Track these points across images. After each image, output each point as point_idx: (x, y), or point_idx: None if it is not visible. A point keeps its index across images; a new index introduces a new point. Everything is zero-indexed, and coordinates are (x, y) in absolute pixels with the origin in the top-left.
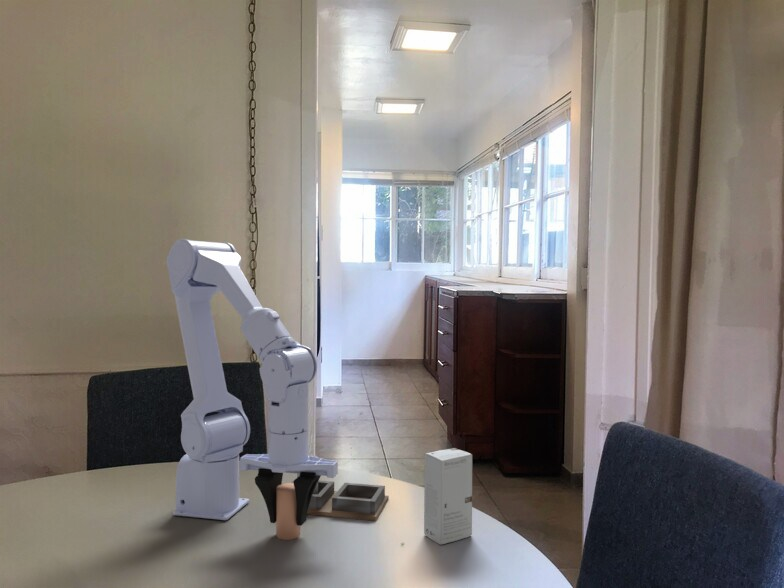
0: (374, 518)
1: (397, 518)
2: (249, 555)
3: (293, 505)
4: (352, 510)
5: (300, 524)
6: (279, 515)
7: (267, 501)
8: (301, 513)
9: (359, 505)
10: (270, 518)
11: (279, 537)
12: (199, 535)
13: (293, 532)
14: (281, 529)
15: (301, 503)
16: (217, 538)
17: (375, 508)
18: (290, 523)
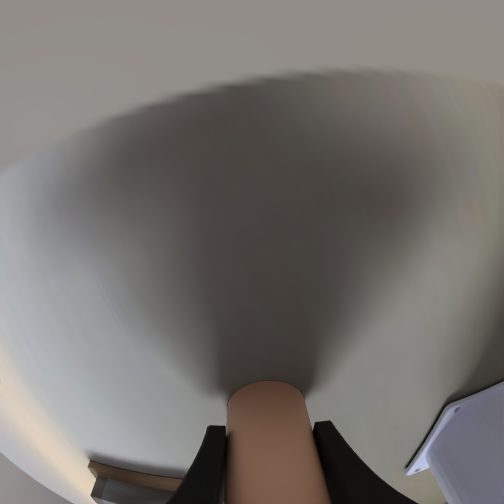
0: (92, 465)
1: (64, 461)
2: (348, 257)
3: (238, 485)
4: (146, 489)
5: (209, 427)
6: (296, 443)
7: (363, 476)
8: (197, 458)
9: (126, 496)
10: (334, 429)
11: (284, 385)
12: (490, 326)
13: (237, 405)
14: (279, 403)
15: (188, 492)
16: (458, 329)
17: (96, 485)
18: (246, 425)
